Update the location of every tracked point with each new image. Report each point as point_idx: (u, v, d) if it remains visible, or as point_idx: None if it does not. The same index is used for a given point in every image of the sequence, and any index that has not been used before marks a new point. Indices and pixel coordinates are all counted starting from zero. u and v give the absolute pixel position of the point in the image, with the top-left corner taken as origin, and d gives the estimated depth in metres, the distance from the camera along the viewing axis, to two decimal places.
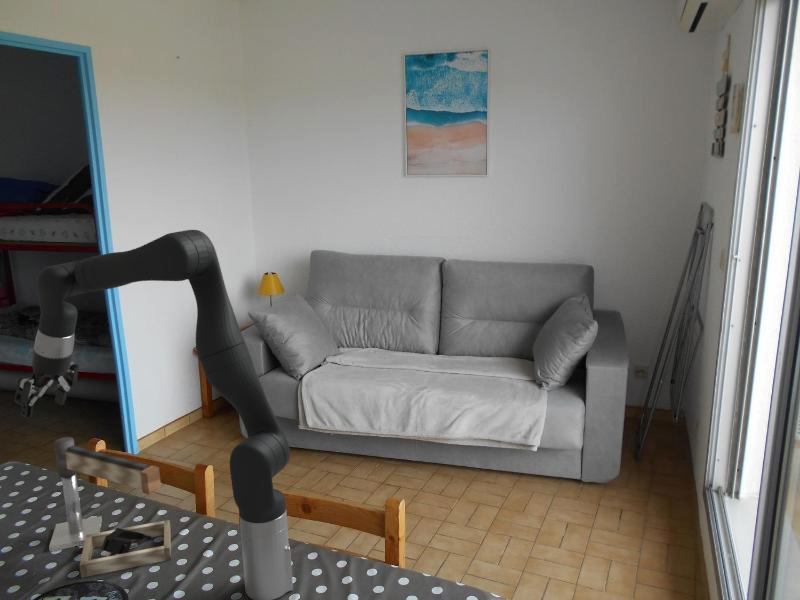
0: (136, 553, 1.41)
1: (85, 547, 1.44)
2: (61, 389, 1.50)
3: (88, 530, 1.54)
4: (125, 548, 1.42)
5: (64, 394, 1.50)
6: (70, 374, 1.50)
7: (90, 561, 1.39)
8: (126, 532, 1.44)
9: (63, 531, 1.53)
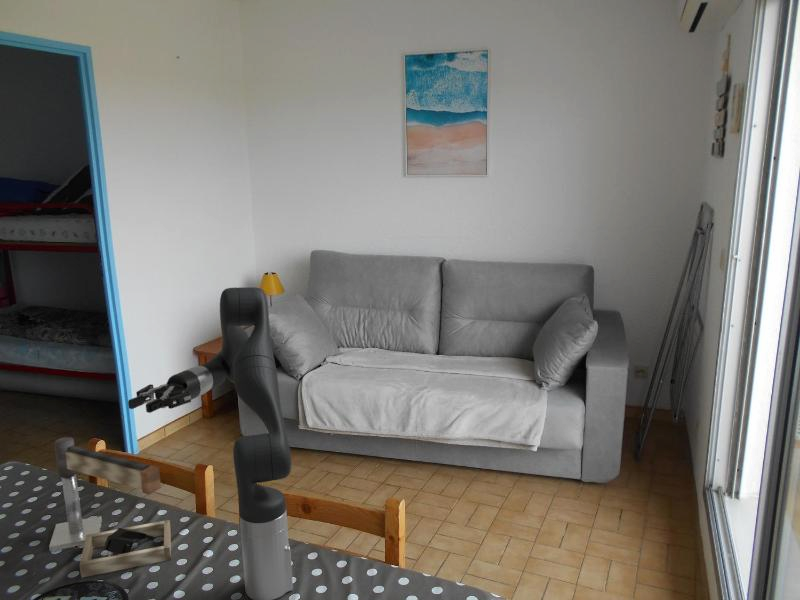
0: (136, 553, 1.41)
1: (85, 547, 1.44)
2: None
3: (88, 530, 1.54)
4: (127, 548, 1.42)
5: (156, 399, 1.53)
6: None
7: (90, 561, 1.39)
8: (128, 532, 1.44)
9: (63, 531, 1.53)
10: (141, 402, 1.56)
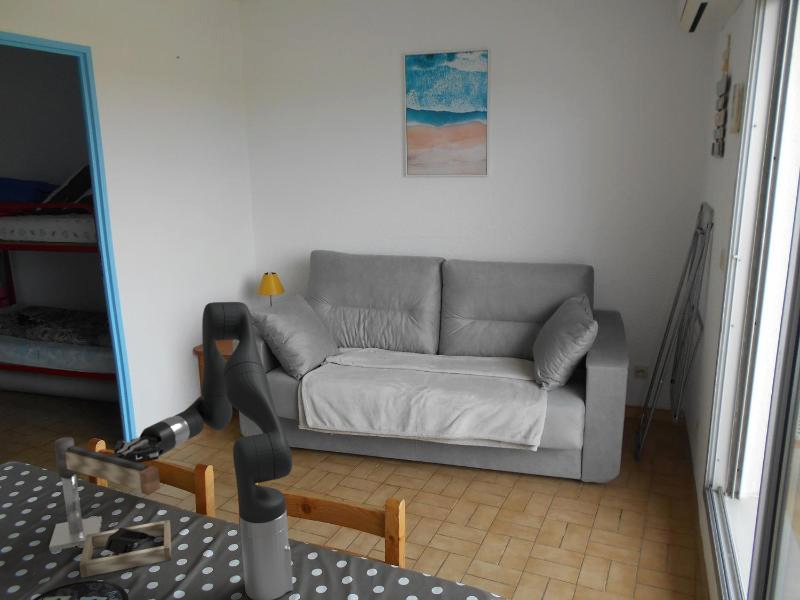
0: (136, 553, 1.41)
1: (85, 547, 1.44)
2: None
3: (88, 530, 1.54)
4: (128, 548, 1.42)
5: (118, 455, 1.48)
6: None
7: (90, 561, 1.39)
8: (129, 532, 1.44)
9: (63, 531, 1.53)
10: None
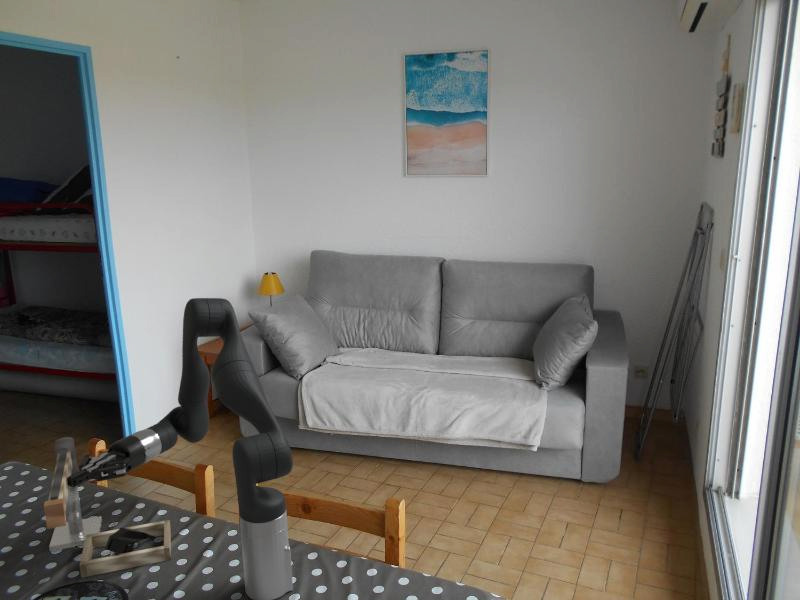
0: (136, 553, 1.41)
1: (85, 547, 1.44)
2: None
3: (88, 530, 1.54)
4: (129, 548, 1.42)
5: (83, 472, 1.40)
6: None
7: (90, 561, 1.39)
8: (130, 532, 1.44)
9: (63, 531, 1.53)
10: None
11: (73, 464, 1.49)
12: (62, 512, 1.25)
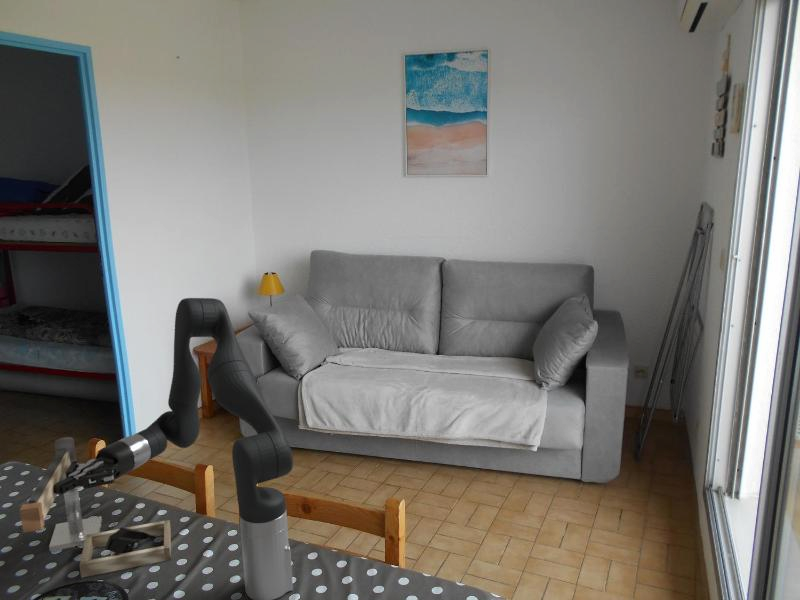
0: (136, 553, 1.41)
1: (85, 547, 1.44)
2: None
3: (88, 530, 1.54)
4: (129, 548, 1.42)
5: (69, 479, 1.37)
6: None
7: (90, 561, 1.39)
8: (130, 532, 1.44)
9: (63, 531, 1.53)
10: None
11: None
12: (38, 517, 1.24)
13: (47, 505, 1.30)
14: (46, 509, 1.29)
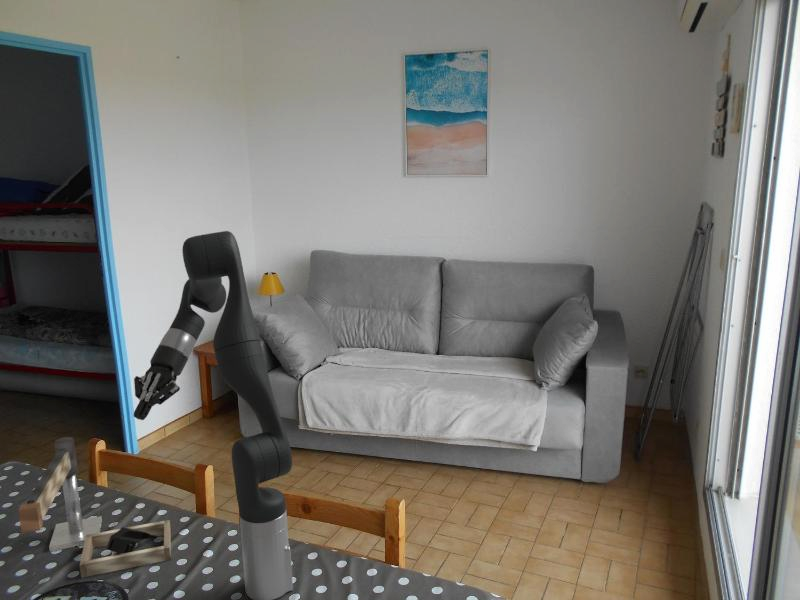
0: (136, 553, 1.41)
1: (85, 547, 1.44)
2: None
3: (88, 530, 1.54)
4: (130, 548, 1.42)
5: (142, 403, 1.47)
6: None
7: (90, 561, 1.39)
8: (131, 532, 1.44)
9: (63, 531, 1.53)
10: None
11: (72, 465, 1.49)
12: (36, 517, 1.24)
13: (46, 505, 1.30)
14: (45, 509, 1.29)
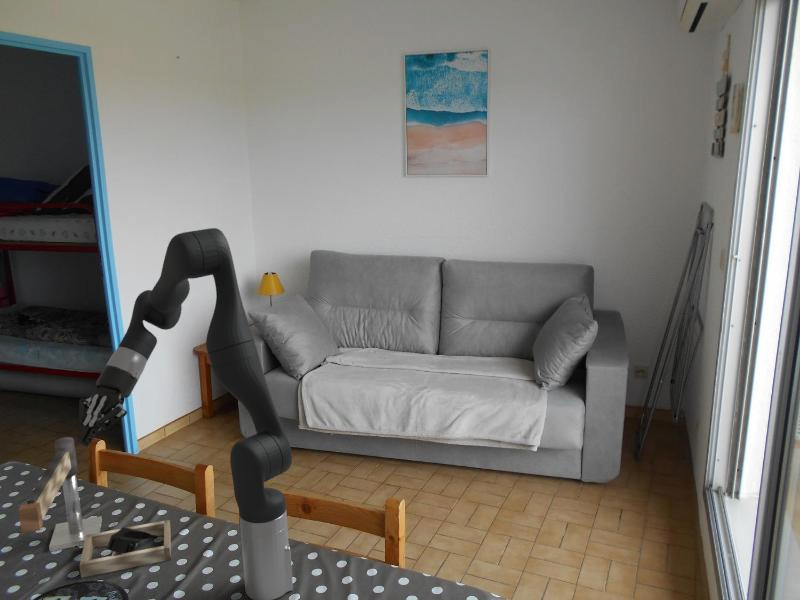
0: (136, 553, 1.41)
1: (85, 547, 1.44)
2: None
3: (88, 530, 1.54)
4: (130, 547, 1.42)
5: (86, 429, 1.38)
6: None
7: (90, 561, 1.39)
8: (132, 531, 1.44)
9: (63, 531, 1.53)
10: None
11: (72, 465, 1.49)
12: (36, 517, 1.24)
13: (46, 505, 1.30)
14: (45, 509, 1.29)
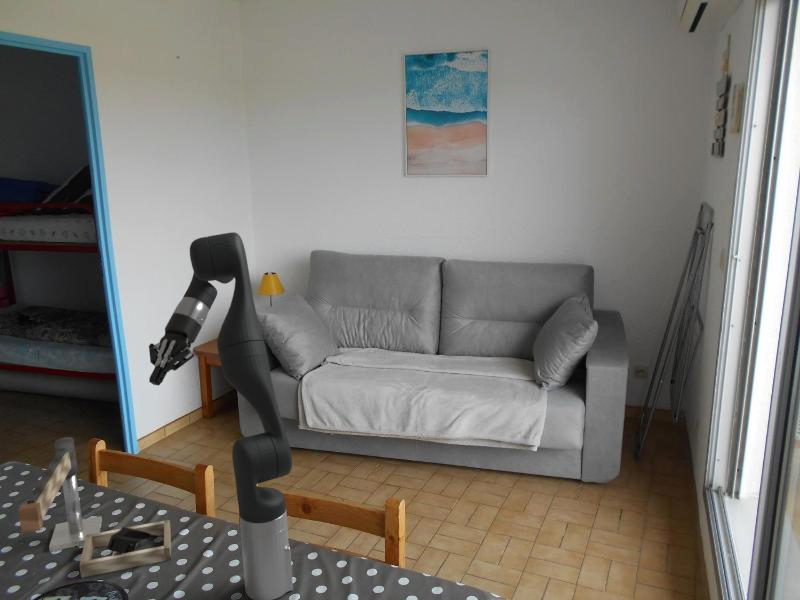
0: (136, 553, 1.41)
1: (85, 547, 1.44)
2: None
3: (88, 530, 1.54)
4: (131, 547, 1.43)
5: (158, 369, 1.51)
6: None
7: (90, 561, 1.39)
8: (132, 531, 1.44)
9: (63, 531, 1.53)
10: None
11: (72, 465, 1.49)
12: (36, 517, 1.24)
13: (46, 505, 1.30)
14: (45, 509, 1.29)
